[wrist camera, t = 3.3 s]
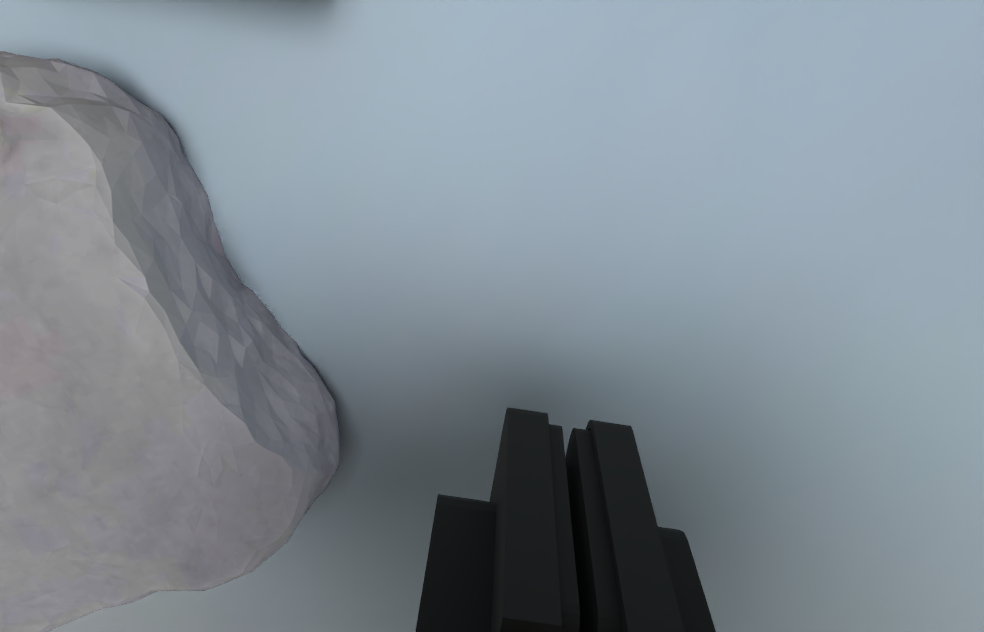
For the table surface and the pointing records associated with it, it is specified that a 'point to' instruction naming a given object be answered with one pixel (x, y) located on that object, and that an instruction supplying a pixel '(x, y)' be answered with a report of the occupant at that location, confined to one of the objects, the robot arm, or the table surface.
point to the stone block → (132, 366)
